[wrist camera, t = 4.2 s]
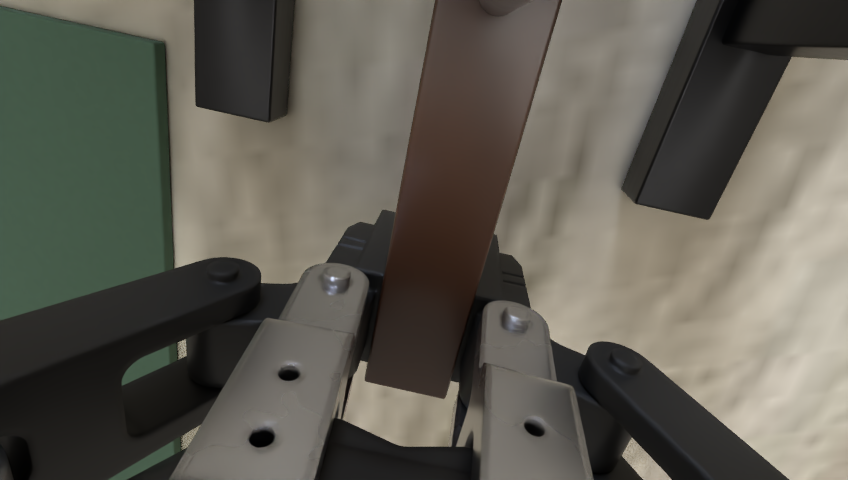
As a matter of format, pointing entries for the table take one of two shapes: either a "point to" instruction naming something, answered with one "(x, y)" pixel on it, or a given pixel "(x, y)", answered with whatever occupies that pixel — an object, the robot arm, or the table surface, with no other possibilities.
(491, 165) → the brown bar with hook
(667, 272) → the table surface
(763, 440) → the table surface
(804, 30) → the rail stand
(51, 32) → the mat
